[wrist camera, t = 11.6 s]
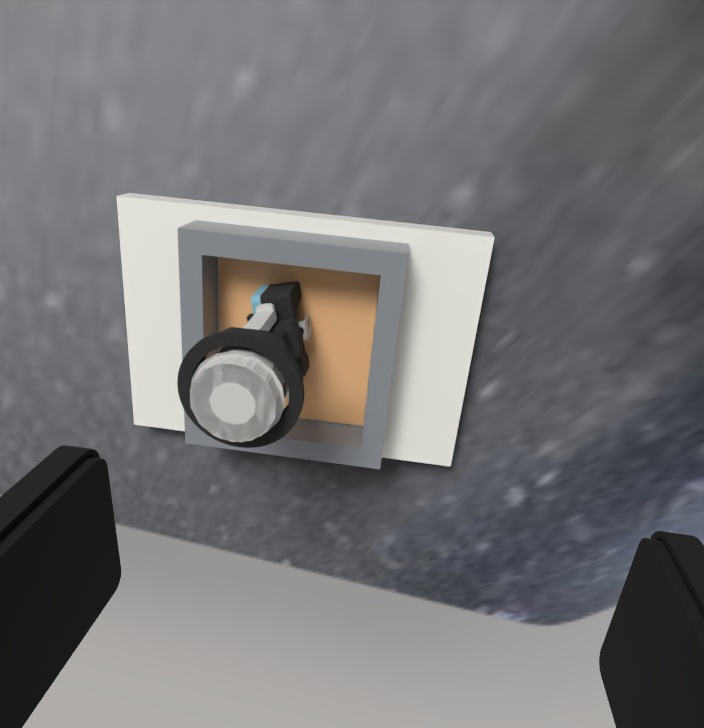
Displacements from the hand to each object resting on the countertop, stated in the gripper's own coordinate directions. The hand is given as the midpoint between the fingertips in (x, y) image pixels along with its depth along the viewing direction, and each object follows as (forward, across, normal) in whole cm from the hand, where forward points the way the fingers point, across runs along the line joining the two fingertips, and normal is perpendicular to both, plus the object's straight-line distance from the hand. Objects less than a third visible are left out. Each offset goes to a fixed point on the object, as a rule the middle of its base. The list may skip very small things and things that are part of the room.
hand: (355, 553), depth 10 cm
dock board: (+23, +6, +5) cm, 24 cm away
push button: (+21, +6, +5) cm, 23 cm away
